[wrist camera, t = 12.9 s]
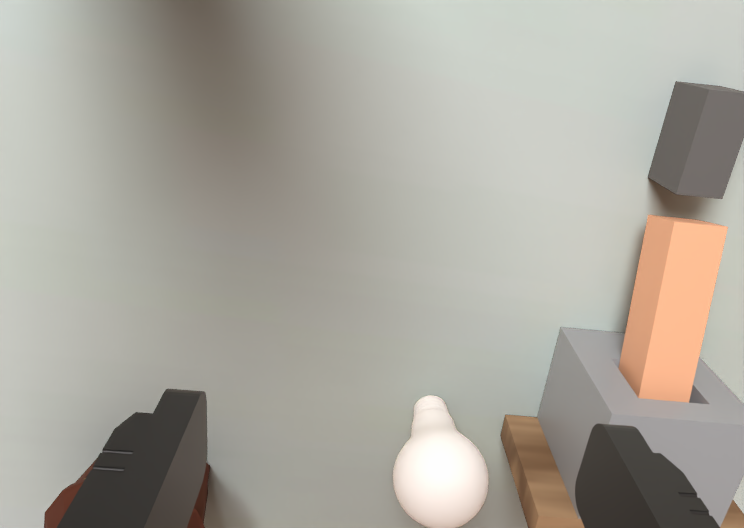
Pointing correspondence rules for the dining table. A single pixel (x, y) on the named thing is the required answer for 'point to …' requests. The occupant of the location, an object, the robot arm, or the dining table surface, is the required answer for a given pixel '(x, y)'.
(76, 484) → the muffin
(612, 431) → the robot arm
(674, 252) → the dowel
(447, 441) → the lightbulb
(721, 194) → the block
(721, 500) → the block
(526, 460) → the wooden board
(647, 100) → the dining table surface
